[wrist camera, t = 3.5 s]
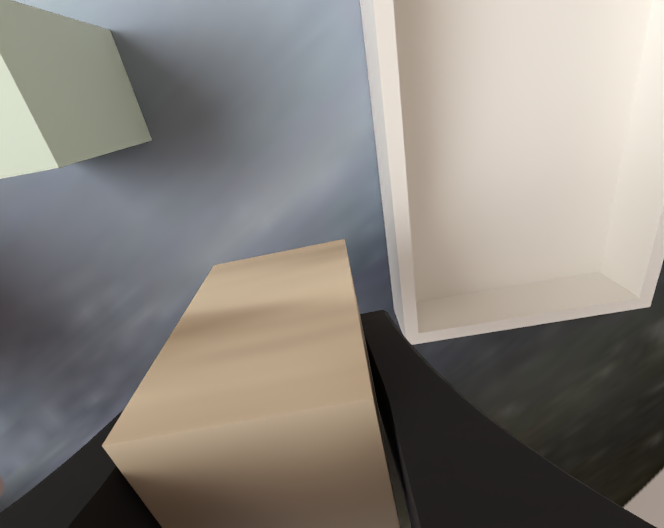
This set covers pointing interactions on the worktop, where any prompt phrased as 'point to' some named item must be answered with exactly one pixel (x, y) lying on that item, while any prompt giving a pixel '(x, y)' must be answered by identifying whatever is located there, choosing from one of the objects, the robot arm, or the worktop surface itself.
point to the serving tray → (517, 158)
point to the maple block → (262, 404)
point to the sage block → (61, 92)
